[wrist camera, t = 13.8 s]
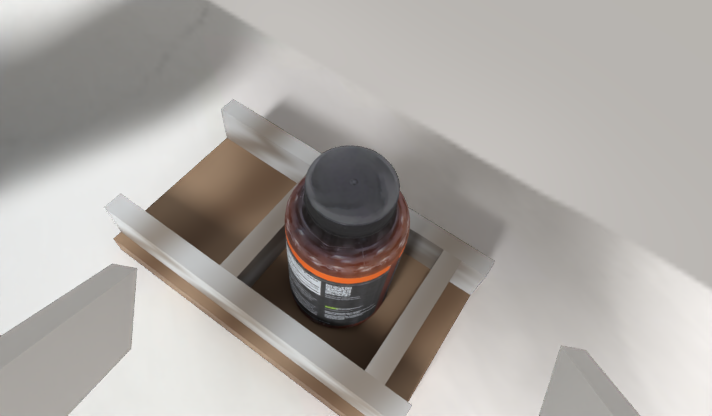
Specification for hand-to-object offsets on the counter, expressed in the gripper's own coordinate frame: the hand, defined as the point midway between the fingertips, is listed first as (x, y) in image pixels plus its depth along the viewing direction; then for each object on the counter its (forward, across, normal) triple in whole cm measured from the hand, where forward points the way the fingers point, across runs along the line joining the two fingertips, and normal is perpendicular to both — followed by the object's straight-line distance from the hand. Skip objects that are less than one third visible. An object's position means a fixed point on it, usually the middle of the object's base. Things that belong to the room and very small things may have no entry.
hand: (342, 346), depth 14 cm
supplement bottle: (+14, 0, -4) cm, 15 cm away
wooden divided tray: (+16, -3, -4) cm, 17 cm away
